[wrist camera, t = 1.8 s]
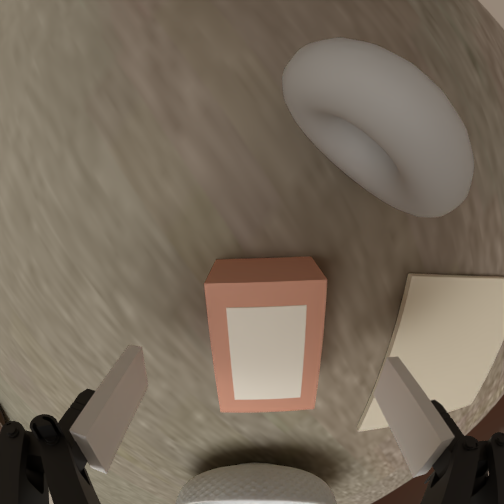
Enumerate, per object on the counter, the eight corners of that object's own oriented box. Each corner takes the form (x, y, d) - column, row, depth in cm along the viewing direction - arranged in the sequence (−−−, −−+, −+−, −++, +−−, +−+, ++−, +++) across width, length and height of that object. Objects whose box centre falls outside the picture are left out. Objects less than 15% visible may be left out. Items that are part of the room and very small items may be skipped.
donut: (410, 180, 16) (523, 190, 6) (381, 217, 17) (487, 258, 7) (297, 75, 15) (338, -22, 5) (262, 111, 15) (271, 29, 6)
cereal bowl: (169, 482, 25) (159, 523, 18) (210, 422, 21) (200, 484, 15) (284, 506, 27) (287, 543, 20) (357, 452, 23) (372, 500, 16)
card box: (216, 258, 18) (203, 284, 13) (310, 255, 18) (327, 279, 13) (226, 371, 20) (220, 412, 16) (304, 368, 20) (314, 409, 15)
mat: (408, 273, 18) (412, 276, 17) (519, 277, 18) (523, 278, 17) (356, 427, 22) (358, 431, 21) (468, 401, 22) (471, 404, 21)
